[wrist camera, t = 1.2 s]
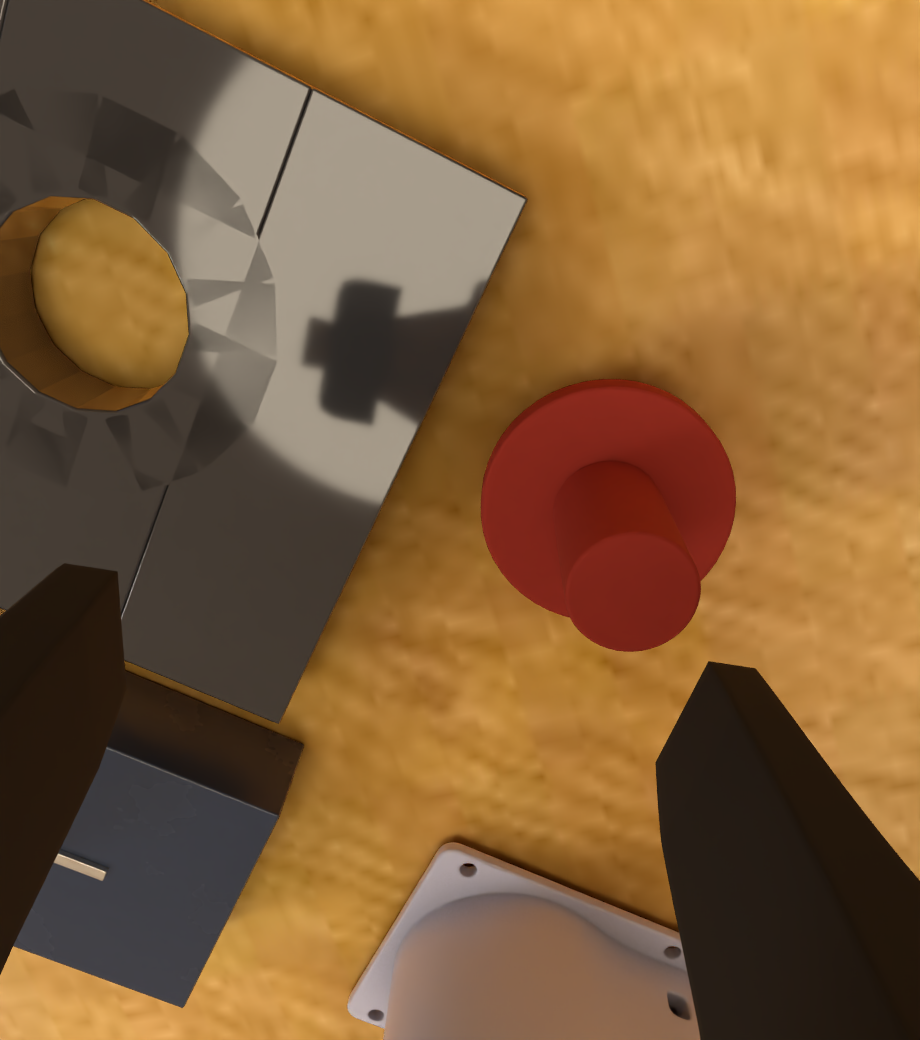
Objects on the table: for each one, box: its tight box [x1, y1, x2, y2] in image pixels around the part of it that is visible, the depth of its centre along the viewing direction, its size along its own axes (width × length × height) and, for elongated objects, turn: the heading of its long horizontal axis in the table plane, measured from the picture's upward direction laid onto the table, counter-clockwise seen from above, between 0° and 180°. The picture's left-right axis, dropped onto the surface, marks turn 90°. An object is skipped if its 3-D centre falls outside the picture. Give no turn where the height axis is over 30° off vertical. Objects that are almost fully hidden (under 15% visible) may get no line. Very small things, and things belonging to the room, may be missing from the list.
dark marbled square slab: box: [0, 0, 528, 724], centre depth 19 cm, size 15×14×2 cm
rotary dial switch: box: [13, 671, 304, 1008], centre depth 24 cm, size 12×8×3 cm
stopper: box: [481, 379, 736, 652], centre depth 18 cm, size 6×6×7 cm
